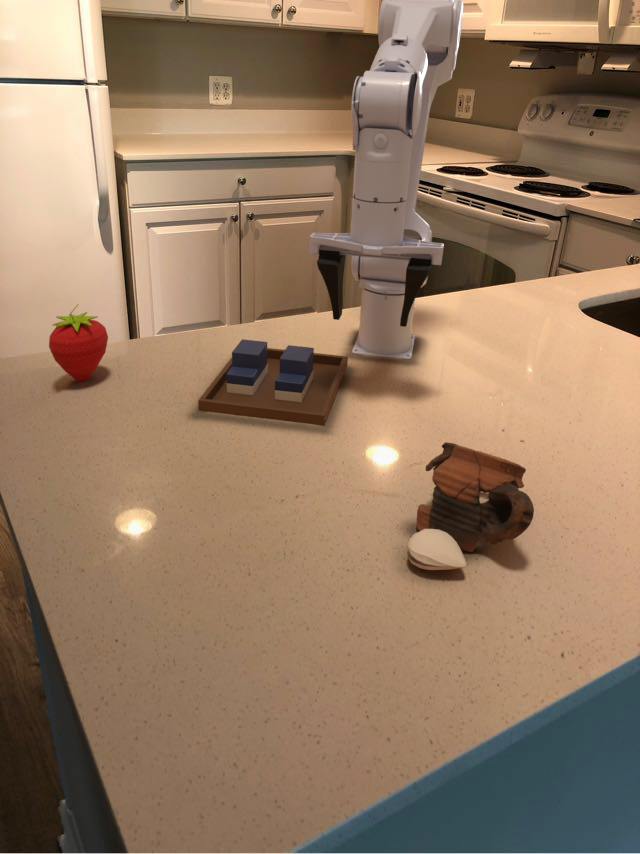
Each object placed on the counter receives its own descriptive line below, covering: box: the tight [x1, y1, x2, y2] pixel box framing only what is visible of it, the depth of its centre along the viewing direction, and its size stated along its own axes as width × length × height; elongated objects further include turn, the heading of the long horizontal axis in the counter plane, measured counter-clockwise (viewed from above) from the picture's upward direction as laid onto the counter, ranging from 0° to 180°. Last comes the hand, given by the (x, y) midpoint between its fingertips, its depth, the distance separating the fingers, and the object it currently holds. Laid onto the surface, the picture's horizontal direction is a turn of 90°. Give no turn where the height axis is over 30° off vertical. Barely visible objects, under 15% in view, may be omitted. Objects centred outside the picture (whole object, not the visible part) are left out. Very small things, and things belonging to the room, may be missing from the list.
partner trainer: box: [227, 338, 268, 396], centre depth 85 cm, size 7×3×4 cm, turn 170°
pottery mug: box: [415, 441, 535, 553], centre depth 61 cm, size 12×10×8 cm
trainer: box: [275, 344, 315, 402], centre depth 84 cm, size 7×3×4 cm, turn 170°
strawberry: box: [48, 303, 109, 382], centre depth 83 cm, size 6×8×10 cm
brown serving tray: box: [197, 347, 349, 426], centre depth 85 cm, size 17×14×2 cm
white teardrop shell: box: [406, 529, 467, 571], centre depth 57 cm, size 4×5×2 cm
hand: (370, 320), depth 81 cm, fingers open, 7 cm apart
